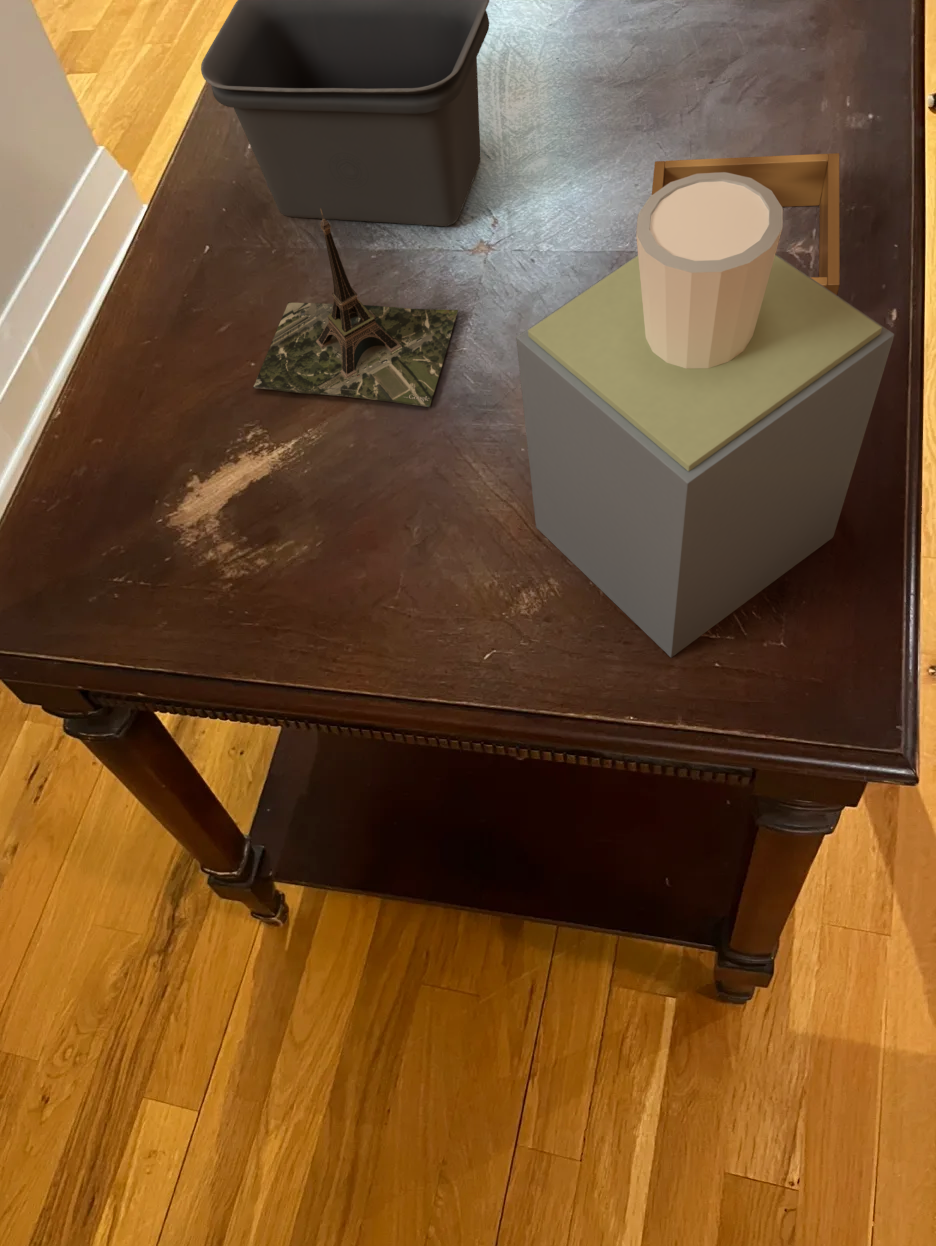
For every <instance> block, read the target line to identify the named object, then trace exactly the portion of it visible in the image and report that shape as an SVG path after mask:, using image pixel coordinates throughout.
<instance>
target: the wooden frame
mask: <svg viewBox="0 0 936 1246" xmlns="http://www.w3.org/2000/svg"><path fill="white" fill-rule="evenodd" d="M720 172H726V173H731V174H735V175H740V176H744V177H749V178H752V179H754V180H755V181H757V182H758V183H760V184H762V185H763V186H765V187H766V188H768V189H770V190H771V191H772V192H773V194H774V195H775V197H776V198H777V200H778V202H779V203H780V205H781V206H782V208H787V207H816V206H817V207H819V210H818V211H819V214H818V215H819V216H818V217H819V218H818V219H819V222H818V223H819V224H818V225H819V226H818V228H819V229H818V233H819V234H818V235H819V236H818V276H813V277H812V276H809V277H810V278H812V279H813V280H815V281H816V282H818V283H819V284H821V285H822V286H824V287H825V288H827V289H828V290H830V291H831V292H833V293H834V294H836V295H837V296H838V294H839V289H840V283H841V282H840V281H841V280H840V279H841V278H840V275H841V274H840V273H841V272H840V271H841V269H840V267H841V266H840V265H841V264H840V261H841V257H840V254H841V253H840V252H841V251H840V250H841V249H840V247H841V246H840V243H841V241H840V239H841V237H840V223H841V222H840V220H841V219H840V218H841V217H840V216H841V215H840V211H841V210H840V153H839V152H838V153H837V152H836V153H835V152H834V153H813V154H812V153H811V154H790V155H789V154H788V155H768V156H767V155H766V156H745V157H744V156H743V157H741V156H740V157H721V158H719V157H717V158H699V159H696V158H695V159H674V160H656V161H654V166H653V176H652V185H651V195H653V194H654V193H656V192H657V191H659V190H660V189H661V188H663V187H664V186H666V185H667V184H669V183H670V182H673V181H676V180H679V179H682V178H685V177H688V176H691V175H694V174H700V173H720Z"/></svg>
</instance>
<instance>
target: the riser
mask: <svg viewBox="0 0 936 1246" xmlns="http://www.w3.org/2000/svg"><path fill="white" fill-rule="evenodd" d="M775 255H776V256H777V257H779V258H780V259H782V260H783V261H785V262H786V263H788V264H789V265H791V266H792V267H794V268H795V269H797V270H798V271H800V272H801V273H803V274H804V275H805V276H807V277H808V278H810V277H811V276H809V275H808V274H806V273H805V272H803V271H801V270H800V269H798V268H797V267H796V266H795V265H793V264H791V263H790V262H788V261H787V260H786V259H784V258H782V257H781V256H780V255H778V254H777V253H776V254H775ZM637 256H638V254H636V255H635V256H633V257H632V258H630V259H629V260H627V261H626V262H625V263H622V265H620V266H619V267H616V269H614V270H613V271H611V272H610V273H608V274H607V275H605V276H604V277H602V278H601V279H599V280H598V281H596V282H595V283H594V284H592V285H591V286H589V287H588V288H586V289H585V290H583V291H581V292H580V293H578V294H577V295H575V296H574V297H573V298H571V299H570V300H568V301H567V302H565V303H564V304H562V305H561V306H560V307H558V308H557V309H555V310H554V311H552V312H551V313H549V314H547V316H545V317H544V318H542V319H540V320H539V321H537V322H536V323H535V324H533V325H531V326H530V327H529V328H527V329H526V330H524V331H523V332H521V333H520V334H518V335H517V336H516V337H515V340H516V341H515V342H516V343H515V344H516V351H517V359H518V361H517V362H518V369H519V379H520V388H521V398H522V399H521V400H522V408H523V417H524V427H525V435H526V446H527V454H528V465H529V475H530V483H531V492H532V502H533V511H534V520H535V521H534V522H535V528H536V529H537V531H539V532H540V533H541V534H543V536H544V537H545V538H546V539H547V540H548V541H550V543H552V544H553V545H554V546H555V547H556V549H558V550H559V551H560V552H561V553H562V554H563V555H564V556H565V557H566V558H567V559H568V560H569V561H570V562H571V563H572V564H573V565H574V566H576V568H577V569H579V570H580V571H581V573H582V574H584V575H585V576H586V577H587V578H588V579H589V580H590V581H591V582H592V583H593V584H594V585H595V586H596V587H597V588H598V589H599V590H600V591H601V592H602V593H603V594H605V596H607V598H609V600H611V601H612V602H613V603H614V604H615V605H616V606H617V607H618V608H619V609H620V610H621V611H622V612H623V614H625V615H626V616H627V617H628V618H629V619H630V620H631V621H632V622H633V623H634V624H635V625H637V626H638V628H639V629H641V631H643V633H645V634H646V635H647V636H648V637H649V638H650V639H651V640H652V641H653V642H654V643H655V644H656V645H657V646H658V647H659V648H660V649H661V650H662V651H663V652H665V654H667V656H669V657H670V658H673V657H674V656H676V655H677V654H678V653H680V652H681V651H682V650H684V649H685V648H686V647H688V646H689V645H690V644H692V643H693V642H695V641H696V640H698V638H700V637H701V636H703V635H704V634H705V633H707V632H708V631H709V630H711V629H712V628H713V627H715V626H716V625H717V624H719V623H720V622H721V621H723V620H724V619H725V618H727V617H728V616H730V615H731V614H733V612H735V611H736V610H738V609H739V608H740V607H742V606H743V605H744V604H745V603H748V601H750V600H751V599H752V598H754V597H755V596H757V595H758V594H759V593H760V592H762V591H763V590H764V589H766V588H767V587H769V586H770V585H771V584H772V583H774V582H775V581H777V579H779V578H781V577H782V576H783V575H785V574H786V573H788V571H791V569H793V568H794V567H795V566H796V565H798V564H799V563H801V562H803V561H804V560H805V559H806V558H807V557H809V556H811V554H813V553H814V552H816V551H817V550H818V549H819V548H821V547H822V546H823V545H825V544H826V543H828V542H829V541H831V540H832V539H833V538H834V536H835V533H836V529H837V527H838V524H839V520H840V516H841V513H842V510H843V506H844V503H845V501H846V500H845V499H846V496H847V493H848V489H849V487H850V483H851V480H852V476H853V473H854V470H855V467H856V463H857V460H858V456H859V454H860V451H861V447H862V444H863V441H864V438H865V435H866V431H867V427H868V423H869V421H870V418H871V413H872V411H873V409H874V408H873V407H874V404H875V401H876V398H877V395H878V391H879V389H880V388H879V387H880V384H881V381H882V379H883V374H884V371H885V367H886V364H887V361H888V358H889V355H890V351H891V348H892V344H893V341H894V338H895V333H893V332H892V331H891V330H889V329H887V328H886V327H884V326H883V325H881V324H880V323H879V322H877V321H875V320H874V319H873V318H871V317H869V316H868V315H867V314H865V313H863V312H862V311H861V310H859V309H858V308H856V307H855V306H853V305H852V304H851V303H849V302H847V301H846V300H845V299H843V298H842V297H840V296H839V295H838V294H837V295H836V294H834V293H833V292H831V291H830V290H828V289H827V288H825V287H824V286H822V285H821V284H819V283H818V282H816V281H815V280H813V279H812V278H810V279H811V280H813V281H814V282H816V283H817V284H819V285H820V286H822V287H823V288H825V289H826V290H828V291H829V292H831V293H832V294H834V295H835V296H836V297H838V298H839V299H841V300H842V301H844V302H845V303H847V304H848V305H850V306H851V307H853V308H854V309H856V310H857V311H859V312H860V313H862V314H863V315H865V316H866V317H868V318H869V319H870V320H872V321H873V322H875V323H876V324H878V325H879V326H881V327H882V329H881V333H880V335H878V336H877V337H875V338H874V339H873V340H871V341H870V342H868V343H867V344H866V345H864V346H863V347H862V348H860V349H859V350H857V351H856V352H855V353H853V354H852V355H850V356H849V357H848V358H846V359H845V360H843V361H842V362H841V363H839V364H838V365H836V366H835V367H834V368H832V369H831V370H829V371H828V372H827V373H825V374H824V375H822V376H821V377H820V378H818V379H817V380H816V381H814V382H813V383H811V384H810V385H809V386H807V387H806V388H804V389H803V390H802V391H800V392H799V393H797V394H796V395H795V396H793V397H792V398H790V399H789V400H788V401H786V402H785V403H783V404H782V405H781V406H779V407H778V408H777V409H775V410H774V411H772V412H771V413H770V414H768V415H767V416H765V417H764V418H763V419H761V420H760V421H758V422H757V423H756V424H754V425H753V426H751V427H750V428H749V429H747V430H746V431H744V432H743V433H742V434H740V435H739V436H737V437H736V438H735V439H733V440H732V441H731V442H729V443H728V444H726V445H725V446H724V447H722V448H721V449H719V450H718V451H717V452H715V453H714V454H712V455H711V456H710V457H708V458H707V459H705V460H704V461H703V462H701V463H700V464H698V465H697V466H696V467H694V468H693V469H692V470H690V471H687V470H686V469H685V468H684V467H682V466H681V465H680V464H679V463H678V462H677V461H675V460H674V459H673V458H672V457H671V456H669V455H668V454H667V453H666V452H665V451H664V450H662V449H661V448H660V447H659V446H658V445H656V444H655V443H654V442H653V441H652V440H650V439H649V438H648V437H647V436H646V435H645V434H643V433H642V432H641V431H640V430H639V429H637V428H636V427H635V426H634V425H633V424H631V423H630V422H629V421H628V420H627V419H626V418H624V417H623V416H622V415H621V414H620V413H618V412H617V411H616V410H615V409H614V408H613V407H611V406H610V405H609V404H608V403H607V402H605V401H604V400H603V399H602V398H601V397H599V396H598V395H597V394H596V393H595V392H594V391H592V390H591V389H590V388H589V387H588V386H586V385H585V384H584V383H583V382H582V381H581V380H579V379H578V378H577V377H576V376H575V375H573V374H572V373H571V372H570V371H569V370H567V369H566V368H565V367H564V366H563V365H562V364H560V363H559V362H558V361H557V360H556V359H554V358H553V357H552V356H551V355H550V354H548V353H547V352H546V351H545V350H544V349H543V348H541V347H540V346H539V345H538V344H537V343H535V342H534V341H533V340H532V339H531V338H530V337H529V336H528V330H529V329H531V328H532V327H534V326H535V325H537V324H538V323H540V322H541V321H542V320H544V319H545V318H547V317H548V316H550V315H551V314H553V313H554V312H556V311H557V310H559V309H560V308H562V307H563V306H565V305H566V304H568V303H569V302H570V301H572V300H573V299H575V298H576V297H578V296H579V295H581V294H582V293H584V292H585V291H587V290H588V289H590V288H591V287H593V286H594V285H595V284H597V283H598V282H600V281H601V280H603V279H604V278H606V277H607V276H609V275H610V274H612V273H613V272H615V271H616V270H618V269H619V268H621V267H622V266H623V265H625V264H626V263H628V262H629V261H631V260H632V259H634V258H635V257H637Z"/></svg>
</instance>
